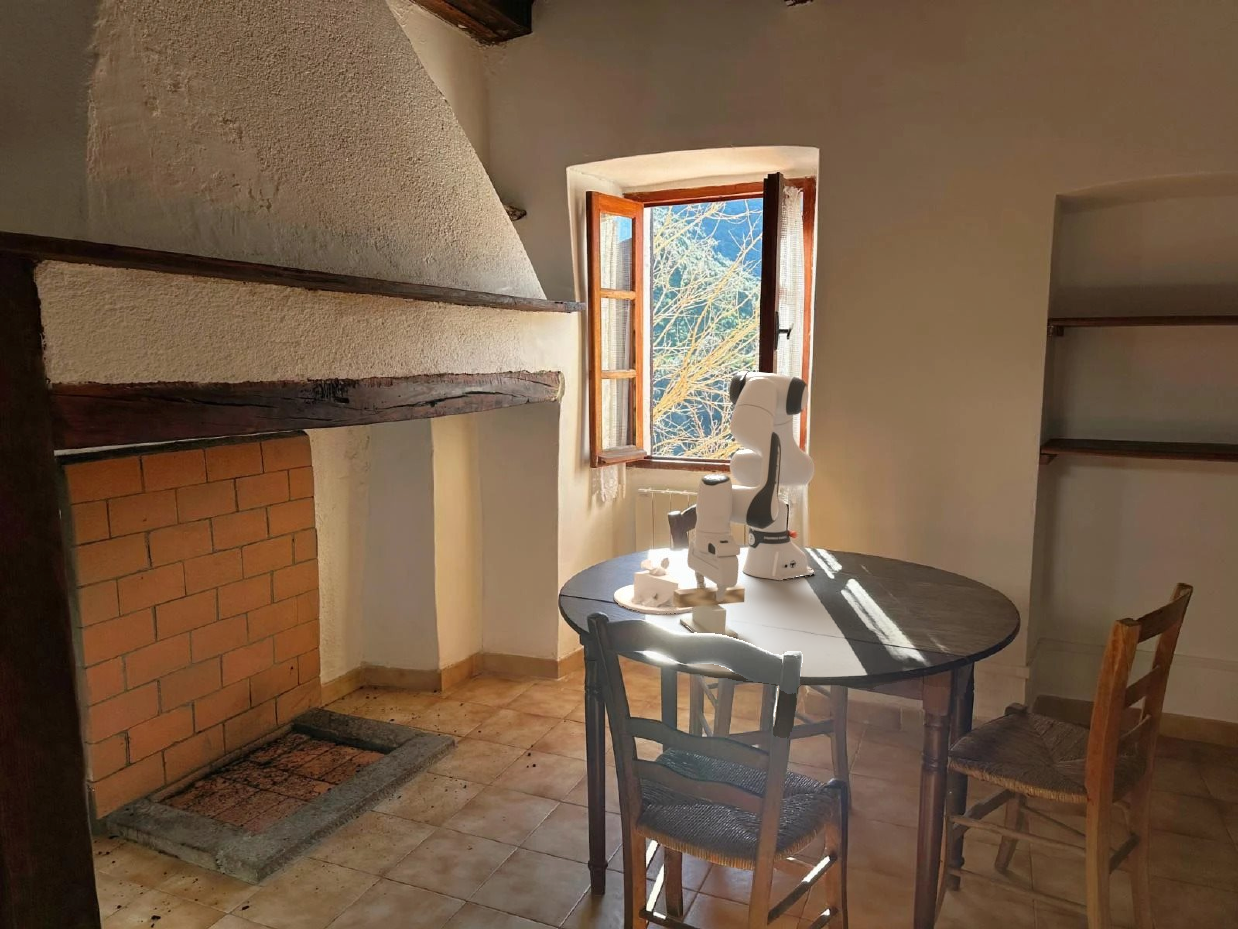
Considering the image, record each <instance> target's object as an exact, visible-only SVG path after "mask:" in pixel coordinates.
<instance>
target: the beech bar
mask: <svg viewBox="0 0 1238 929" xmlns="http://www.w3.org/2000/svg"><path fill="white" fill-rule="evenodd" d="M717 589H718V588H717V586H706V587H705V588H697V587H694V588H689V589H682V590H674V596H673V604H674V605H675V606H677V607H678V608H688V607H698V606H708V605H719V606H720V605H726V604H727V605H729V604H738V603H740V604H741V603H745V595H746V589H745V587H743V586H741V585H740V584H736V585H735V587H730V588H727V589H726V591H725V593H724V599H723V601H720V602H718V601H716V600H715V599H714V597H715V596H714V594H715V593H716V592H717Z"/></svg>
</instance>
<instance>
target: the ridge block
mask: <svg viewBox="0 0 1238 929" xmlns="http://www.w3.org/2000/svg"><path fill="white" fill-rule="evenodd" d="M691 612H692V613H691V615H692V616H691V617H685V618H679V623H680V624H681V623H682V624H683V625H682V624H681V625H682V626H684V625H685V626H688V627H689V628H690V629H691V630H692V631H691V633H693V632H697V633H715V634H722V635H727V636H729V637H737V638H736V639H738V637H739V633H738V632H736V631H735V630H733V629H732V628H730V627H728V626H727V625H726V624H727V622H726V621H727V609H726V608H724V607H722V606H721V605H720V604H719V605H708V606H698V607H693V611H691ZM685 626H684V627H685Z"/></svg>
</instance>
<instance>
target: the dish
mask: <svg viewBox="0 0 1238 929" xmlns="http://www.w3.org/2000/svg"><path fill="white" fill-rule="evenodd" d="M639 566H640V569H644V571H643V570H642V571H638V572H637V571H636V572H634V573H633V584H629V585H626V586H623V587H620V588H619V589H617V590H616V591H615V592H614V596H613V597H614V599H613V600H615V601H616V602H617V603H618V605H619V606H620V607H622V606H624V607H626V608H625V609H627V608H628V609H627V610H629V609H633V610H637V611H636V612H638V611H640V612H639V613H642V614H643V613H644V614H651V613H656V614H655V615H678V614H677V613H680V614H684V613H691V612H693V607H688V608H678V607H677V606H675V605H674V604H673V596H674V590H682V589H690V588H689V587H688V586H687V587H686V586H681V585H679V582H678V581H677V579H676V578H675V577H674V576H673V574H672V573H671V572H670V571H669V570H668V568H669V566H670V560H669V557H665V558H663V559H662V560H661V562H660V566H659V565H654V566H653V562H652V559H644V560H642V561H641V563H640V565H639ZM615 601H614V602H615ZM616 602H615V603H616ZM617 603H616V604H617ZM624 607H623V608H624ZM633 610H632V611H633ZM657 613H659V614H657ZM666 613H667V614H666ZM670 613H671V614H670ZM674 613H676V614H674Z"/></svg>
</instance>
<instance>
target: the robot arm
mask: <svg viewBox="0 0 1238 929" xmlns="http://www.w3.org/2000/svg"><path fill="white" fill-rule="evenodd" d="M728 395H729V396H728V397H729V401H730V402H731V404H732V405H733V406H734V409H733V412H732V414H731V417H730V425H729V429H730V432H731V434H732V437H733V438H734V440H735V441H736V442H737V443H738V444H739V445H740V446H742V447H743V448H745V449H740V450H737V451H736V452H734V454H732V457H731V459H730V462H729V470H730V474H731V476H732V478H733V479H734V480H735V481H736V482H737V483H739V484H740V485H739V484H738V485H737V484H733V483H732V479H731V478H730V476H729V475H726V474H721V473H712V474H706V475H705V476H703V477H701V479H700V481H699V484H698V488H697V496H696V502H695V513H696V523H695V526H694V535H693V536H692V538H691V541H690V542H689V543H688V544H689V546H688V551H687V563H686V564H687V567H688V568H689V569H691V570H693V571H694V576H695V580H696V588H705V587H707V583H706V582H705V578H706V579H708V580H709V581H711V582H712V583H714V584H716V587H717V588H718V589H717V592H716V593H715V594H714V596H715V597H714V599H715V600H716V601H718V602H720V601H723V599H724V593H725V591H726V589H727V588H730V587H735V585H737V583H738V576H739V562H740V561H739V557H738V556H740V554H741V546H740V545H739V543H737V542H736V541H735V538H734V537H733V535H732V526H731V524H736V525H737V524H738V525H745V526H748V537H747V539H748V541H747V542H748V546H747V547H748V548H747V554H746V558H745V562H744V564H743V568H742V571H743V573H744V574H746V575H748V576H752V577H755V578H756V577H757V578H763V579H771V580H776V581H784V580H783V579H787V578H793V577H796V576H800V575H806V574H809V573H813V572H814V573H815V571H814V569H813V568H812V567H810V566H809V565H808V559H807V558H808V557H807V555H806V553H805V552H804V551H803V550H801V549H800V548H799V547H798V546H797V545H796V544H795V543H794V542H793V541H792V540H791V539H796V538H797V537H798V533H797V532H796V531H793V530H791V531H790V530H788V529H787V520H788V519H787V518H788V506H787V504H786V502H785V501H784V500H783V499H781V498H780V497H779V486H780V487H800V486H806V485H808V484H809V483H810V482H811V481H812V479H813V478H814V476H815V469H816V468H815V463H814V460H813V459H812V457H811V456H810V455H809V454H808V453H806V452H805V451H803V449H802V448H800V447H799V445H798V443H796V440H795V437H794V430H793V429H794V427H793V426H794V415H799V414H800V413H802V412H803V411H804V409H805V407H806V405H807V403H808V402H809V401H808V400H809V388H808V384H807V383H806V382H805V380H804V379H801V378H799V377H796V376H794V377H791V376H787V375H783V374H781V373H774V372H770V373H768V372H757V371H755V372H750V371H749V370H748V371H747V370H744V371H738V372H737V373H735V374H734V375H733V377H732V379H731V381H730V383H729V388H728ZM811 569H812V570H811ZM793 579H794V578H793ZM787 580H788V579H787Z"/></svg>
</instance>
